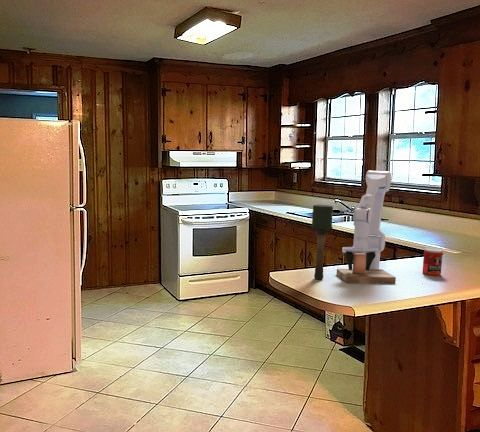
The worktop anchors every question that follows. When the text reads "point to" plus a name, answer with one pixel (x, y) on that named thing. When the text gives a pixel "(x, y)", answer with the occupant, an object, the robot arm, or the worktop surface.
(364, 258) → the peg
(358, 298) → the worktop surface
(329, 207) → the potato masher grenade
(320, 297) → the worktop surface
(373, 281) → the board
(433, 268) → the canned food
